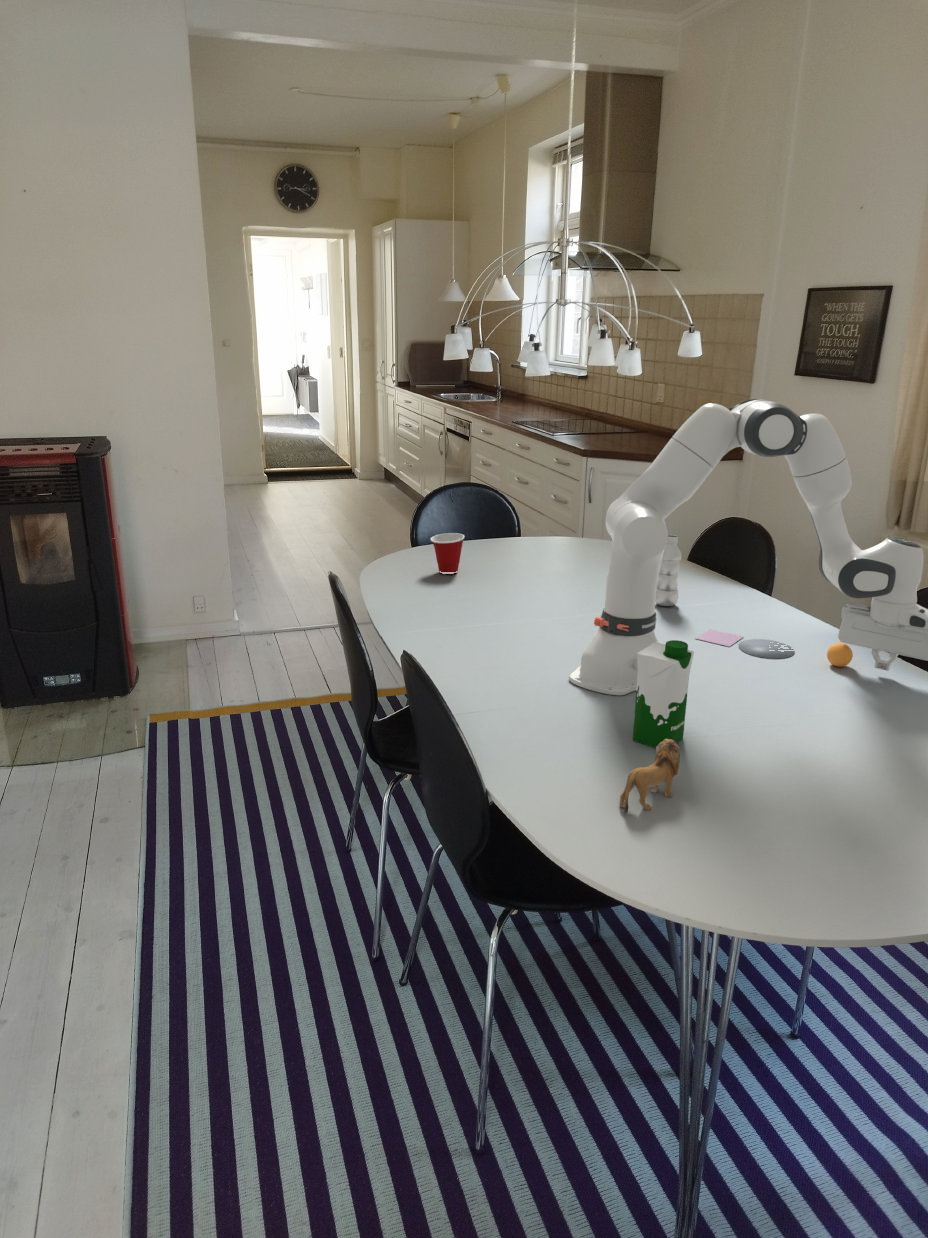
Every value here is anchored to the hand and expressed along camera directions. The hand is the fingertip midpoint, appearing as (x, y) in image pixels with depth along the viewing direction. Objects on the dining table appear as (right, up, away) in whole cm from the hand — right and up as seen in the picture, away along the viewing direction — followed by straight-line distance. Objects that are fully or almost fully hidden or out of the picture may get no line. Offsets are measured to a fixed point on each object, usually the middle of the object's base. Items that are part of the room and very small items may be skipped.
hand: (882, 668), depth 193 cm
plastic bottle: (-37, +15, +49) cm, 63 cm away
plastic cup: (-100, +26, +80) cm, 130 cm away
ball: (-7, +3, +5) cm, 9 cm away
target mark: (-20, +4, +16) cm, 26 cm away
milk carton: (-57, -12, -29) cm, 66 cm away
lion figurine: (-63, -19, -50) cm, 83 cm away
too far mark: (-30, +6, +24) cm, 38 cm away
